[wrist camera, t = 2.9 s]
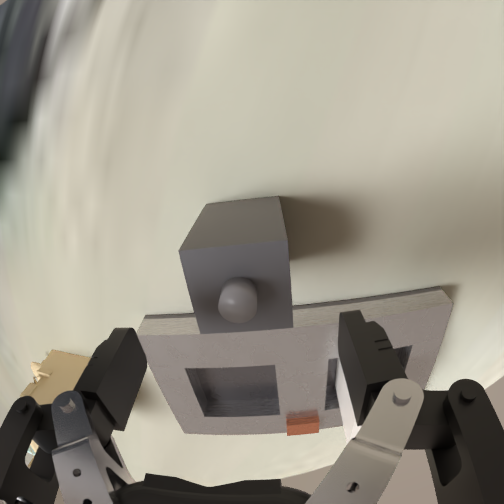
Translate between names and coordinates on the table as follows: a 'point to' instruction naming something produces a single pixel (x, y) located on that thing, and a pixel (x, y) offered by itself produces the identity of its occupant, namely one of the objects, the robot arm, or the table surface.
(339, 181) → the table surface
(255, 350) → the socket plate
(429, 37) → the table surface
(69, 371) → the robot
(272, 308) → the grey plug
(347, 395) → the white plug
